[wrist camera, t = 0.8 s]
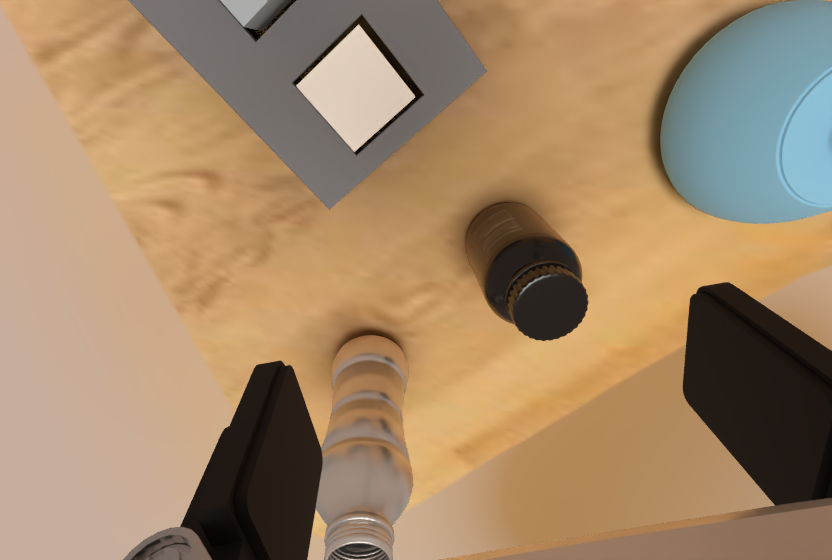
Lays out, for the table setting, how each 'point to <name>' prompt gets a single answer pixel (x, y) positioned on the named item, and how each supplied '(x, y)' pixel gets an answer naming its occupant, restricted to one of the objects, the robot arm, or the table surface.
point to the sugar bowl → (756, 117)
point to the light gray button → (255, 11)
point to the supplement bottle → (527, 271)
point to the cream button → (356, 89)
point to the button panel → (295, 52)
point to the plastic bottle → (365, 451)
